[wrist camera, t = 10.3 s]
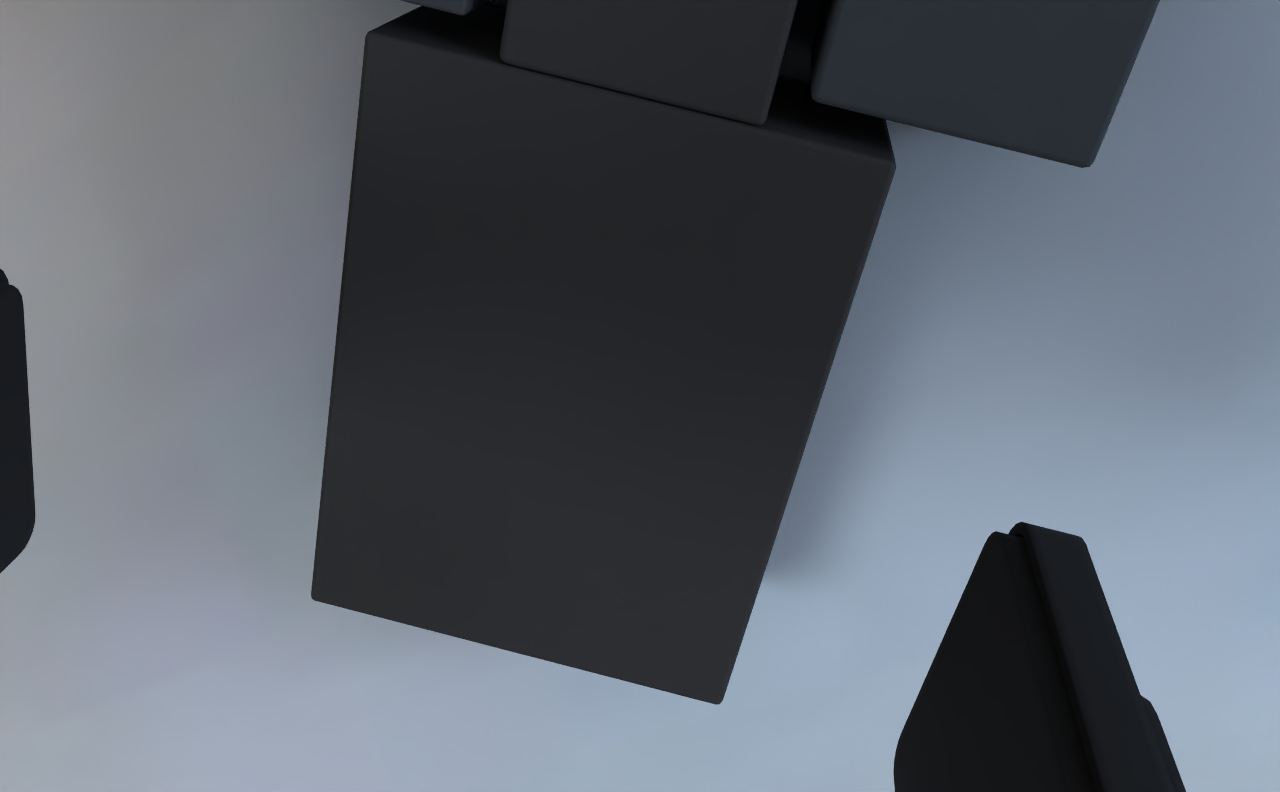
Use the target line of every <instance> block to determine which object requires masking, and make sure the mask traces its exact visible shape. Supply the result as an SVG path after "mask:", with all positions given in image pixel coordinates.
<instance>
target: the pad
mask: <svg viewBox="0 0 1280 792" xmlns="http://www.w3.org/2000/svg"><path fill="white" fill-rule="evenodd" d="M797 2H798V0H508V2H507V8H506V10H503V9H499V8H495V7H491V6H487V5H481V6H479V7H477V8H476V9H474V10H472V11H470V12H469V13H467V14H465V15H458V14H454V13H450V12H446V11H442V10H438V9H434V8H429V7H425V6H420V7H418V8H416V9H414V10H412V11H410V12H408V13H406V14H404V15H402V16H400V17H398V18H396V19H394V20H392V21H390V22H388V23H386V24H383V25H381V26H379V27H377V28H375V29H373V30H371V31H369V32H368V33H367V35H366V37H365V47H364V57H363V68H362V78H361V88H360V98H359V109H358V119H357V129H356V139H355V150H354V160H353V170H352V180H351V191H350V201H349V211H348V222H347V232H346V242H345V252H344V263H343V273H342V283H341V293H340V304H339V314H338V324H337V334H336V345H335V355H334V365H333V375H332V386H331V396H330V406H329V416H328V427H327V437H326V447H325V457H324V468H323V478H322V488H321V499H320V509H319V519H318V529H317V540H316V550H315V560H314V570H313V581H312V591H311V597H312V599H313V600H315V601H319V602H323V603H327V604H331V605H334V606H338V607H342V608H346V609H350V610H354V611H358V612H361V613H365V614H369V615H373V616H377V617H381V618H385V619H388V620H392V621H396V622H400V623H404V624H408V625H412V626H415V627H419V628H423V629H427V630H431V631H435V632H439V633H442V634H446V635H450V636H454V637H458V638H462V639H466V640H469V641H473V642H477V643H481V644H485V645H489V646H493V647H496V648H500V649H504V650H508V651H512V652H516V653H520V654H523V655H527V656H531V657H535V658H539V659H543V660H547V661H550V662H554V663H558V664H562V665H566V666H570V667H574V668H577V669H581V670H585V671H589V672H593V673H597V674H601V675H604V676H608V677H612V678H616V679H620V680H624V681H628V682H631V683H635V684H639V685H643V686H647V687H651V688H655V689H658V690H662V691H666V692H670V693H674V694H678V695H682V696H685V697H689V698H693V699H697V700H701V701H705V702H709V703H712V704H720V703H721V702H722V700H723V698H724V695H725V692H726V689H727V686H728V683H729V679H730V676H731V673H732V670H733V667H734V664H735V661H736V658H737V655H738V652H739V649H740V646H741V643H742V640H743V636H744V633H745V630H746V627H747V624H748V621H749V618H750V615H751V612H752V609H753V606H754V603H755V600H756V596H757V593H758V590H759V587H760V584H761V581H762V578H763V575H764V572H765V569H766V566H767V563H768V560H769V557H770V553H771V550H772V547H773V544H774V541H775V538H776V535H777V532H778V529H779V526H780V523H781V520H782V517H783V514H784V510H785V507H786V504H787V501H788V498H789V495H790V492H791V489H792V486H793V483H794V480H795V477H796V474H797V471H798V467H799V464H800V461H801V458H802V455H803V452H804V449H805V446H806V443H807V440H808V437H809V434H810V431H811V427H812V424H813V421H814V418H815V415H816V412H817V409H818V406H819V403H820V400H821V397H822V394H823V391H824V388H825V384H826V381H827V378H828V375H829V372H830V369H831V366H832V363H833V360H834V357H835V354H836V351H837V348H838V345H839V341H840V338H841V335H842V332H843V329H844V326H845V323H846V320H847V317H848V314H849V311H850V308H851V305H852V302H853V298H854V295H855V292H856V289H857V286H858V283H859V280H860V277H861V274H862V271H863V268H864V265H865V262H866V259H867V255H868V252H869V249H870V246H871V243H872V240H873V237H874V234H875V231H876V228H877V225H878V222H879V219H880V215H881V212H882V209H883V206H884V203H885V200H886V197H887V194H888V191H889V188H890V185H891V182H892V179H893V176H894V172H895V169H896V163H895V158H894V154H893V150H892V146H891V141H890V137H889V133H888V129H887V124H886V120H885V119H882V118H878V117H874V116H870V115H866V114H862V113H858V112H854V111H850V110H846V109H842V108H838V107H834V106H830V105H826V104H822V103H818V102H816V101H815V100H813V99H812V95H811V85H808V84H803V83H799V82H795V81H791V80H787V79H783V78H779V77H778V74H779V70H780V66H781V63H782V59H783V55H784V51H785V47H786V44H787V40H788V36H789V32H790V29H791V25H792V21H793V17H794V14H795V10H796V6H797Z"/></svg>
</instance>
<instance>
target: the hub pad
mask: <svg viewBox="0 0 1280 792" xmlns="http://www.w3.org/2000/svg"><path fill="white" fill-rule="evenodd" d="M401 1H405V2H409V3H413V4H417V5H421V6H425V7H429V8H434V9H438V10H442V11H446V12H450V13H454V14H458V15H465V14H467V13H469V12H470V11H472V10H474V9H476V8H477V7H479V6H481V5H483V4H484V3H486V2H488V1H490V0H401ZM1159 1H1160V0H824V1H823V5H822V9H821V12H820V16H819V19H818V23H817V27H816V30H815V34H814V38H813V41H812V45H811V95H812V99H813V100H815V101H816V102H818V103H822V104H826V105H830V106H834V107H838V108H842V109H846V110H850V111H854V112H858V113H862V114H866V115H870V116H874V117H878V118H882V119H886V120H891V121H895V122H899V123H903V124H907V125H911V126H915V127H919V128H923V129H927V130H931V131H935V132H939V133H943V134H947V135H951V136H955V137H959V138H963V139H967V140H972V141H976V142H980V143H984V144H988V145H992V146H996V147H1000V148H1004V149H1008V150H1012V151H1016V152H1020V153H1024V154H1028V155H1032V156H1036V157H1040V158H1044V159H1048V160H1052V161H1057V162H1061V163H1065V164H1069V165H1073V166H1077V167H1081V168H1084V167H1090V166H1091V164H1092V163H1093V162H1094V160H1095V158H1096V155H1097V153H1098V151H1099V148H1100V146H1101V143H1102V141H1103V138H1104V136H1105V133H1106V131H1107V129H1108V126H1109V124H1110V121H1111V119H1112V116H1113V114H1114V111H1115V109H1116V106H1117V104H1118V102H1119V99H1120V97H1121V94H1122V92H1123V89H1124V87H1125V84H1126V82H1127V79H1128V77H1129V75H1130V72H1131V70H1132V67H1133V65H1134V62H1135V60H1136V57H1137V55H1138V53H1139V50H1140V48H1141V45H1142V43H1143V40H1144V38H1145V35H1146V33H1147V30H1148V28H1149V26H1150V23H1151V21H1152V18H1153V16H1154V13H1155V11H1156V8H1157V6H1158V3H1159Z"/></svg>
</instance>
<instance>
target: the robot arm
mask: <svg viewBox="0 0 1280 792" xmlns="http://www.w3.org/2000/svg"><path fill="white" fill-rule="evenodd" d="M34 524H35V500H34V482H33V465H32V448H31V430H30V413H29V395H28V378H27V361H26V343H25V326H24V309H23V300H22V296H21V294H20V292H19V290H18V289H17V288H16V287H15V286H13V285H9V282H8V279H7V277H6V275H5V273H4V271H3V270H1V269H0V573H1V572H2V571H3V570H4V569H5V568H6V567H7V566H8V565H9V564H10V563H11V562H12V561H13V560H14V559H15V558H16V557H17V556H18V555H19V554H20V553H21V552H22V551H23V550H24V548H25V547H26V545H27V543H28V541H29V539H30V537H31V534H32V532H33V528H34ZM894 785H895V792H1186V790H1185V788H1184V785H1183V782H1182V779H1181V777H1180V774H1179V771H1178V769H1177V766H1176V763H1175V761H1174V758H1173V755H1172V753H1171V750H1170V747H1169V744H1168V742H1167V739H1166V736H1165V734H1164V731H1163V728H1162V726H1161V723H1160V720H1159V718H1158V715H1157V713H1156V711H1155V710H1154V708H1153V706H1152V704H1151V702H1150V701H1148V700H1147V699H1145V698H1144V697H1143V696H1141V695H1140V693H1139V690H1138V687H1137V684H1136V682H1135V679H1134V676H1133V673H1132V670H1131V668H1130V665H1129V662H1128V659H1127V657H1126V654H1125V651H1124V648H1123V646H1122V643H1121V640H1120V637H1119V634H1118V632H1117V629H1116V626H1115V623H1114V621H1113V618H1112V615H1111V612H1110V610H1109V607H1108V604H1107V601H1106V598H1105V596H1104V593H1103V590H1102V587H1101V585H1100V582H1099V579H1098V576H1097V574H1096V571H1095V568H1094V565H1093V562H1092V560H1091V557H1090V554H1089V551H1088V549H1087V546H1086V544H1085V542H1084V540H1083V539H1082V538H1081V537H1079V536H1076V535H1072V534H1068V533H1064V532H1060V531H1056V530H1052V529H1048V528H1044V527H1040V526H1036V525H1032V524H1028V523H1024V522H1020V523H1017V524H1016V525H1015V526H1014V527H1013V528H1012V529H1011V530H1010V532H1009V534H1004V533H1000V532H996V531H995V532H993V533H992V534H991V535H990V536H989V537H988V539H987V541H986V543H985V545H984V547H983V549H982V551H981V554H980V556H979V558H978V560H977V563H976V565H975V567H974V569H973V572H972V574H971V576H970V579H969V581H968V583H967V585H966V588H965V590H964V592H963V594H962V597H961V599H960V601H959V603H958V606H957V608H956V610H955V613H954V615H953V617H952V619H951V622H950V624H949V626H948V628H947V631H946V633H945V635H944V637H943V640H942V642H941V644H940V647H939V649H938V651H937V653H936V656H935V658H934V660H933V662H932V665H931V667H930V669H929V671H928V674H927V676H926V678H925V681H924V683H923V685H922V687H921V690H920V692H919V694H918V696H917V699H916V701H915V703H914V705H913V708H912V710H911V712H910V714H909V717H908V719H907V721H906V724H905V726H904V728H903V730H902V733H901V735H900V738H899V741H898V745H897V749H896V754H895V760H894Z"/></svg>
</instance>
